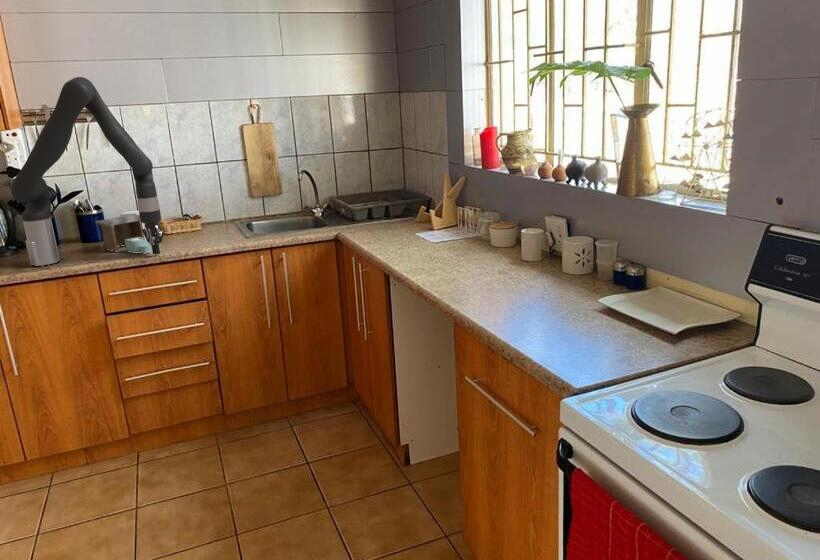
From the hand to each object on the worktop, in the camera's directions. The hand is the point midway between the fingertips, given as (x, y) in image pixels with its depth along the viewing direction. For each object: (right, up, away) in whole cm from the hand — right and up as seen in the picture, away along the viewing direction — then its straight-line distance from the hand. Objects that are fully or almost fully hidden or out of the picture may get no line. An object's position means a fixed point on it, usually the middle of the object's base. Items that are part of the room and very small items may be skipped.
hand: (156, 253), depth 252 cm
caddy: (-9, +1, +8) cm, 12 cm away
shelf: (-19, +3, +17) cm, 26 cm away
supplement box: (-20, +7, +31) cm, 37 cm away
